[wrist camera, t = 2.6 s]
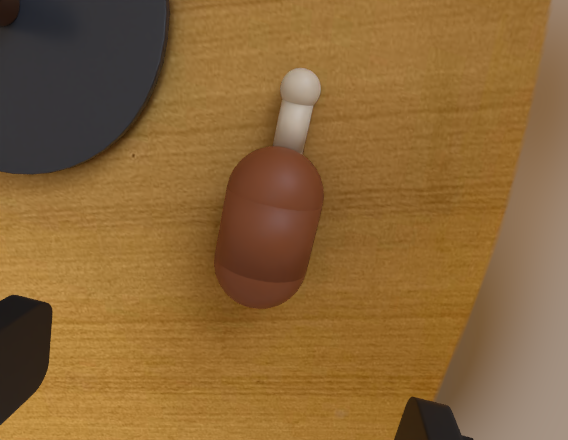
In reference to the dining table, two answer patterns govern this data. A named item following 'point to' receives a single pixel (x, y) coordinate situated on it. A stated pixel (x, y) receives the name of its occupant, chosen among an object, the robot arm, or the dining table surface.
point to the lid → (74, 77)
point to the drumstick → (272, 207)
